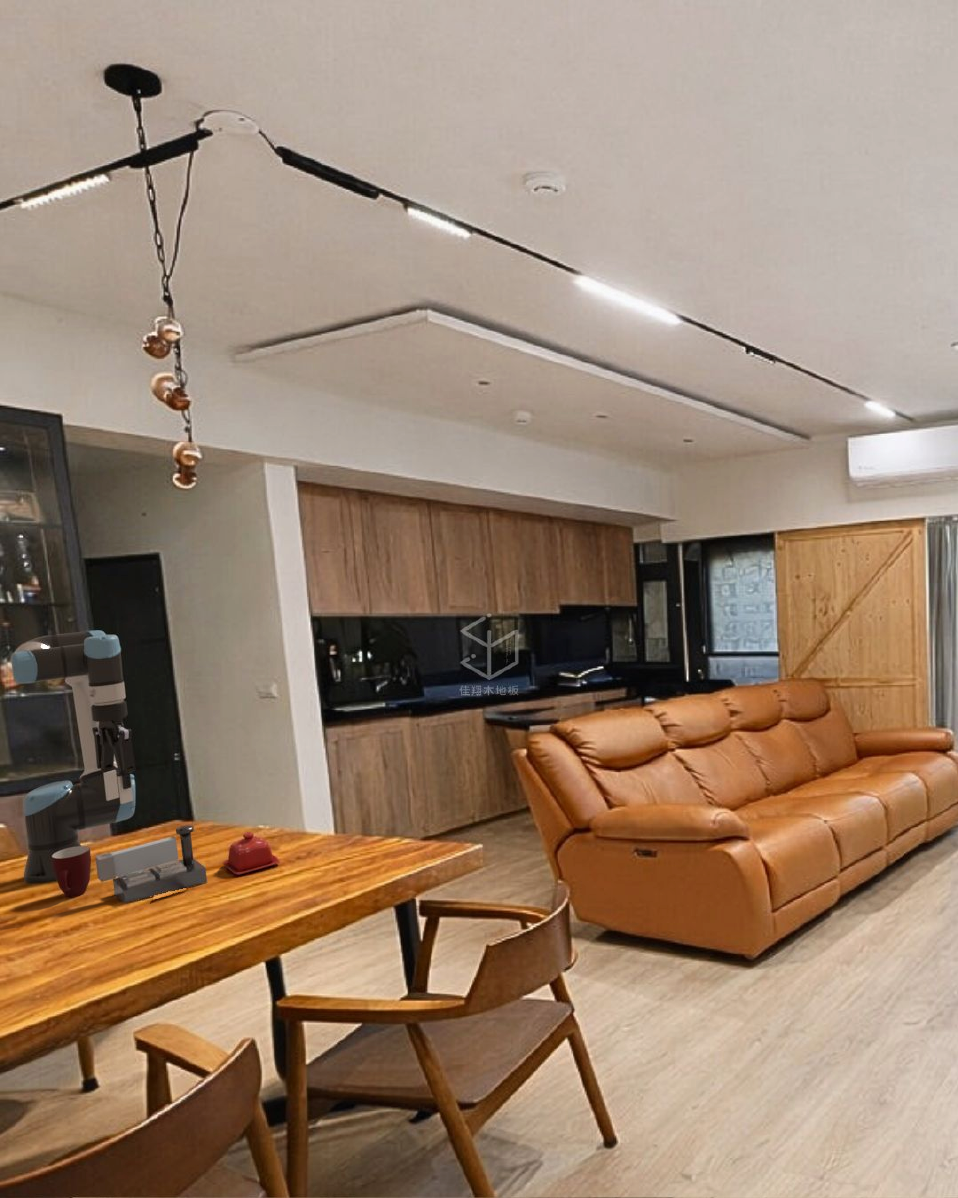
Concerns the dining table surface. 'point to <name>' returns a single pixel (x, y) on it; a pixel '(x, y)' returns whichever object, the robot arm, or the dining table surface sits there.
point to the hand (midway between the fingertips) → (119, 800)
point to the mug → (72, 869)
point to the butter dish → (249, 855)
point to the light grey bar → (136, 858)
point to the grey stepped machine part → (163, 874)
